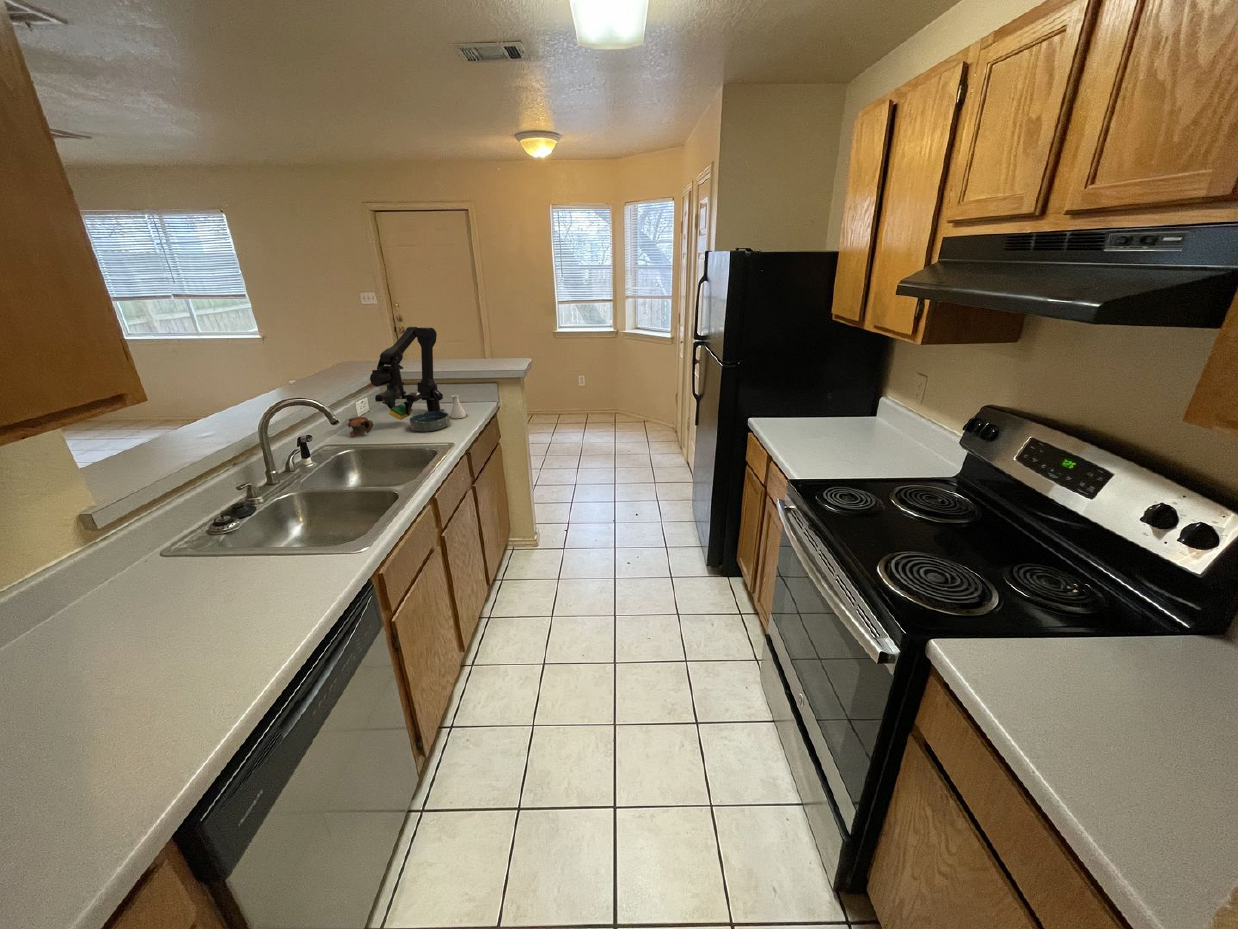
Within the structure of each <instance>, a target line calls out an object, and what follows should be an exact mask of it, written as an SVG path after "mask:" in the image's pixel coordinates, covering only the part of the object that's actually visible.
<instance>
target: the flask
mask: <svg viewBox="0 0 1238 929" xmlns="http://www.w3.org/2000/svg"><path fill="white" fill-rule="evenodd" d="M459 397H460V396H459V394H453V395H451V398H452V406H451V407H452V408H451V413H450V419H463V418H465V417H467V414H466V412H465V410H464V408H463V406H462V404H461V403H460V400H459Z"/></svg>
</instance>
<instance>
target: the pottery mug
mask: <svg viewBox="0 0 1238 929" xmlns="http://www.w3.org/2000/svg"><path fill="white" fill-rule="evenodd" d="M346 426H347V427H348V428H351V431H349V435H350V437H351V438H353V437H363V436H364V437H365V436H366V433H368V434H369V433H370V432H371V430H372V429H373V427H374V422H373V421H372V420H370V419H369V418H368V417H365V416H357V417H352V418H349V419H348V423H347V424H346Z"/></svg>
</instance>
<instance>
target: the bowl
mask: <svg viewBox="0 0 1238 929" xmlns="http://www.w3.org/2000/svg"><path fill="white" fill-rule="evenodd" d="M409 424H410V428H411V430H412V431H415V432H423V433H426V432H427V433H429V432H435V431H440V430H443V429H445V428H447V427H449V426H450V425H451V416H450V414H449V412H446V411H442V412H427V411H425V412H422V413H418V414H415V415H413V416H410V418H409Z"/></svg>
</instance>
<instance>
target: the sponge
mask: <svg viewBox="0 0 1238 929" xmlns="http://www.w3.org/2000/svg"><path fill="white" fill-rule="evenodd" d="M412 412H413V408H411V412H410V416H411V415H412ZM388 415H390V416H392V417H393V418H395V419H397V420H399V421H402V420H404V419H406V418H408V417H409V416H407V412H406V407H405V404H404V403H399V404H397V405H396V406H395V407H393V408H391V410H390V409H389V412H388Z"/></svg>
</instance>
